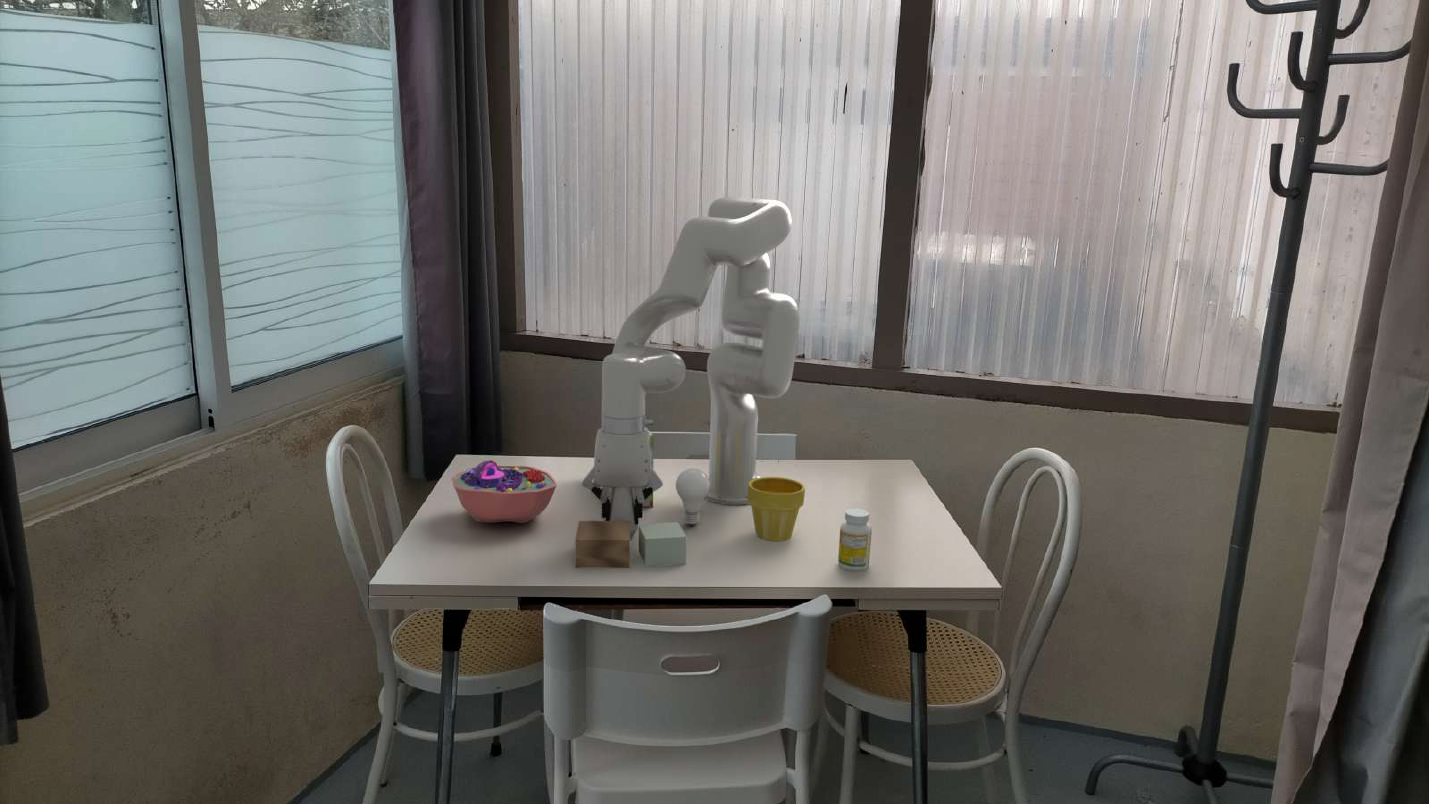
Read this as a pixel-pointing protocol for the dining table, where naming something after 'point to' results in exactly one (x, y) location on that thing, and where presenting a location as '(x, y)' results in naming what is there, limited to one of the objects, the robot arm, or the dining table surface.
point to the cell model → (504, 492)
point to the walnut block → (603, 544)
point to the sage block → (662, 544)
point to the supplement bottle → (855, 540)
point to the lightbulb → (692, 492)
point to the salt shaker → (623, 507)
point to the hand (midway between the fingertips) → (622, 520)
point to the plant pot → (775, 506)
